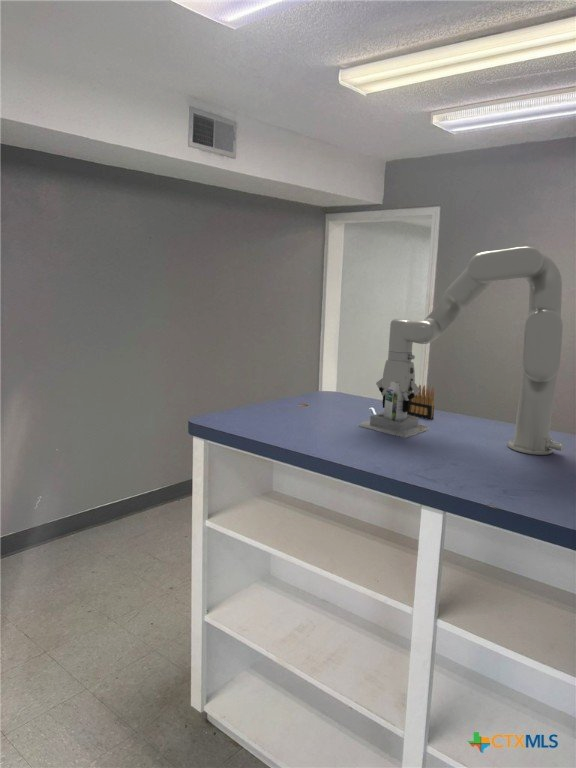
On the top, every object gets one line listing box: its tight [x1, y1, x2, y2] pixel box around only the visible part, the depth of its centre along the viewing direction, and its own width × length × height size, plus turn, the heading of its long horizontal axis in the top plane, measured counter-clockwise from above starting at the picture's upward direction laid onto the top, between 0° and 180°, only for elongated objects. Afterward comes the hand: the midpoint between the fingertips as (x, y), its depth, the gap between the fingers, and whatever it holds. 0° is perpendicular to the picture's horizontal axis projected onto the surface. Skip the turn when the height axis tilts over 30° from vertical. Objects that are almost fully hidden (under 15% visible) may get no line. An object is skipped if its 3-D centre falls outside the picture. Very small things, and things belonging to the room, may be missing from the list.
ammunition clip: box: [407, 384, 435, 420], centre depth 196 cm, size 11×2×12 cm, turn 46°
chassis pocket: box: [358, 411, 430, 439], centre depth 179 cm, size 18×15×4 cm
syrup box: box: [383, 382, 408, 421], centre depth 178 cm, size 6×6×14 cm
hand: (395, 409), depth 178 cm, fingers closed on syrup box, 7 cm apart
